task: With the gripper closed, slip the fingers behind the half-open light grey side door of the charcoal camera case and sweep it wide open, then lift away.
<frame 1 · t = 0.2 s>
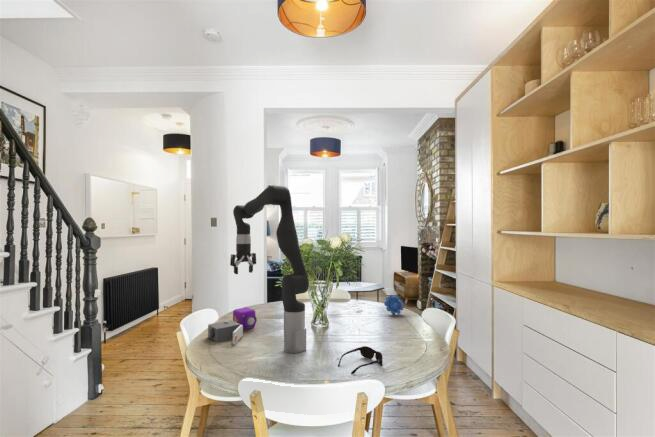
hand: (243, 273, 185), 29 cm above the table, tool pointing down, fingers open, 8 cm apart
side door: (238, 334, 164), point 3 cm above the table, hinge at 45.0°
toy camera: (245, 328, 184), on the table
sunglasses: (360, 366, 135), on the table
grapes: (394, 315, 209), on the table
camera case: (224, 336, 169), on the table
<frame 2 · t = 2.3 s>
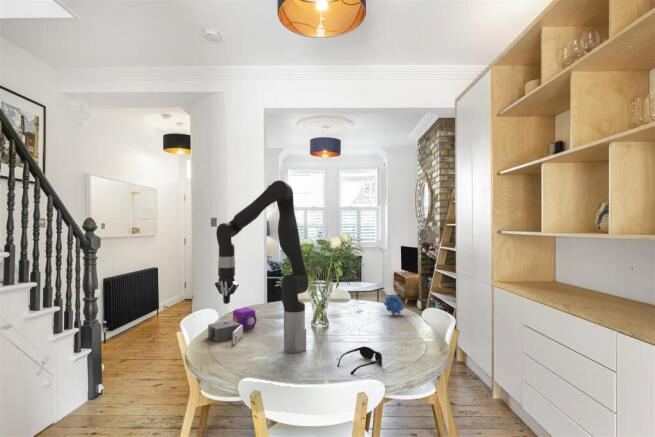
hand: (226, 303, 161), 18 cm above the table, tool pointing down, fingers closed
nothing on the table moved.
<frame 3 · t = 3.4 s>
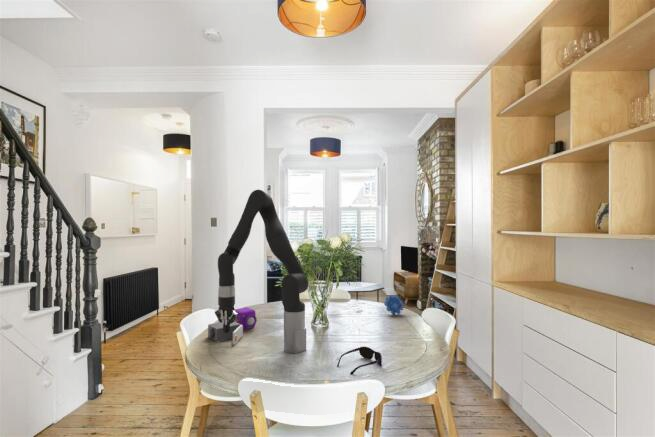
hand: (226, 332, 161), 5 cm above the table, tool pointing down, fingers closed
nothing on the table moved.
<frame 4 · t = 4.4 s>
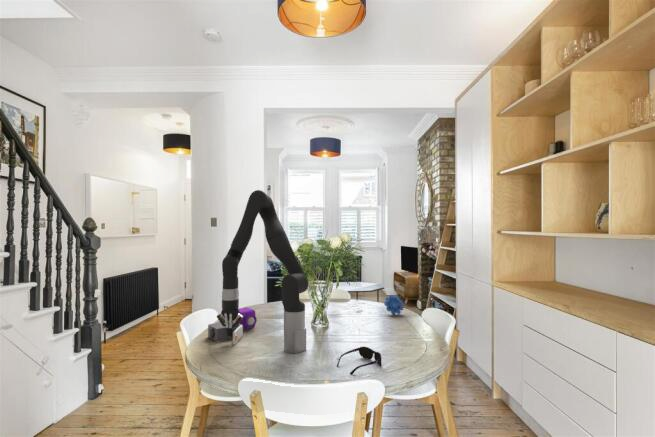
hand: (229, 335, 160), 3 cm above the table, tool pointing down, fingers closed
side door: (238, 334, 164), point 3 cm above the table, hinge at 45.4°, touching gripper
everything else where it was.
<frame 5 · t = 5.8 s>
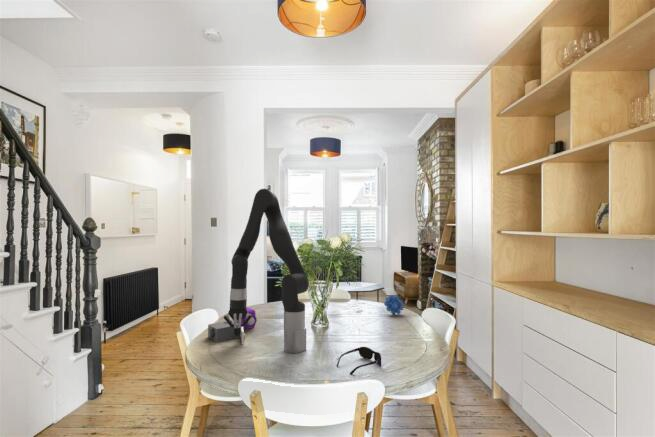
hand: (237, 335, 160), 4 cm above the table, tool pointing down, fingers closed
side door: (242, 333, 164), point 3 cm above the table, hinge at 64.2°, touching gripper
everything else where it was.
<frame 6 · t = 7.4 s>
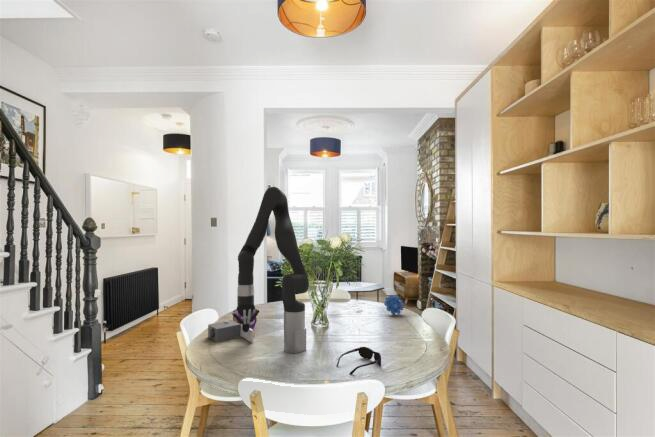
hand: (245, 331, 160), 5 cm above the table, tool pointing down, fingers closed
side door: (247, 332, 166), point 3 cm above the table, hinge at 85.7°
everything else where it was.
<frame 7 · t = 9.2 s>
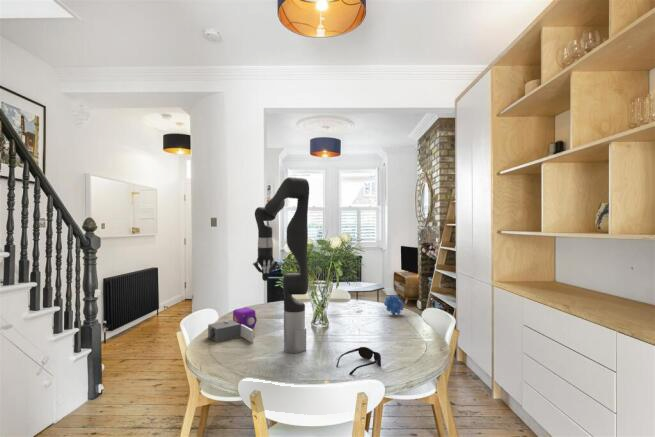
hand: (265, 280, 176), 26 cm above the table, tool pointing down, fingers closed
nothing on the table moved.
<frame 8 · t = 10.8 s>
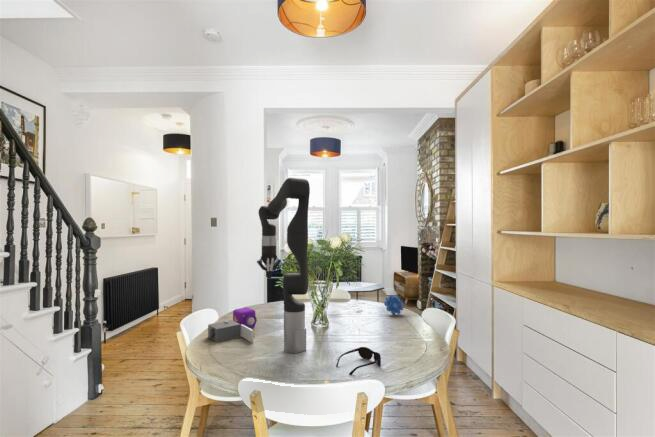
hand: (268, 278, 179), 27 cm above the table, tool pointing down, fingers closed
nothing on the table moved.
at the end: side door at +86° (first picture: +45°); toy camera moved 0.3 cm from its start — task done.
